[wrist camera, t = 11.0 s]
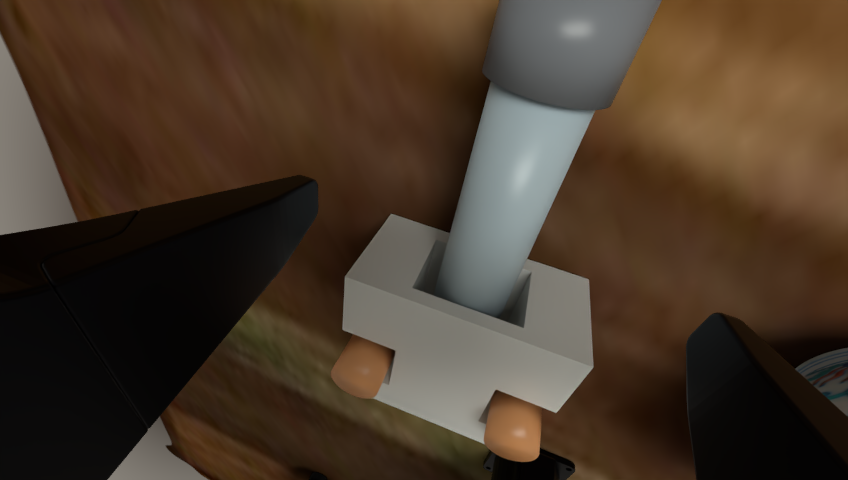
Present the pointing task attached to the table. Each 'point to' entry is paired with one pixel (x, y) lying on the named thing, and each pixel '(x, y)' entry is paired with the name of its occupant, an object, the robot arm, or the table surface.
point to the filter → (317, 476)
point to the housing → (465, 332)
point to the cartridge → (532, 132)
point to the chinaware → (829, 376)
